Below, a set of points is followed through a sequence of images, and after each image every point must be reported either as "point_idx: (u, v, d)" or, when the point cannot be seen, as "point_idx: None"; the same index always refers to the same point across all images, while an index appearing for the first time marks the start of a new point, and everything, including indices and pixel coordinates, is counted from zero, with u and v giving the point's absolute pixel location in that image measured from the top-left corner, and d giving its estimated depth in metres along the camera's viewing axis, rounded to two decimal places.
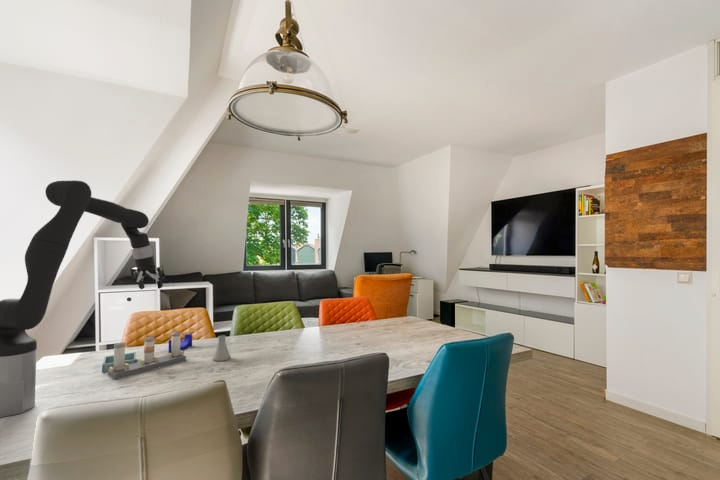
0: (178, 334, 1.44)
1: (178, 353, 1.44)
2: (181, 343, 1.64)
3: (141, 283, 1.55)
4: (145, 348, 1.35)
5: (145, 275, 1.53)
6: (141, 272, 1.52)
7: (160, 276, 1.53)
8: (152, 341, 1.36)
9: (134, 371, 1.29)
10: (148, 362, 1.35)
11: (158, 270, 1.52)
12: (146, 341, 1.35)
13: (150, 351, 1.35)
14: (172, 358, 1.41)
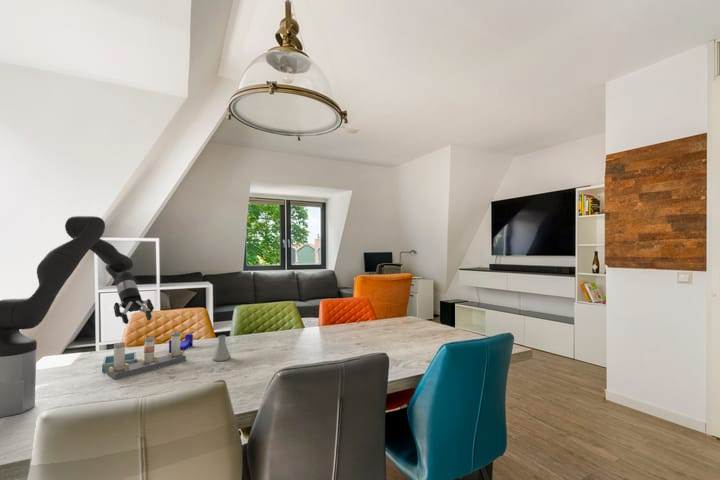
0: (178, 334, 1.45)
1: (178, 353, 1.44)
2: (182, 343, 1.64)
3: None
4: (145, 348, 1.35)
5: (133, 307, 1.46)
6: (130, 302, 1.46)
7: (151, 306, 1.51)
8: (152, 341, 1.36)
9: (134, 371, 1.29)
10: (148, 362, 1.35)
11: (149, 301, 1.52)
12: (146, 341, 1.35)
13: (150, 351, 1.35)
14: (172, 358, 1.41)
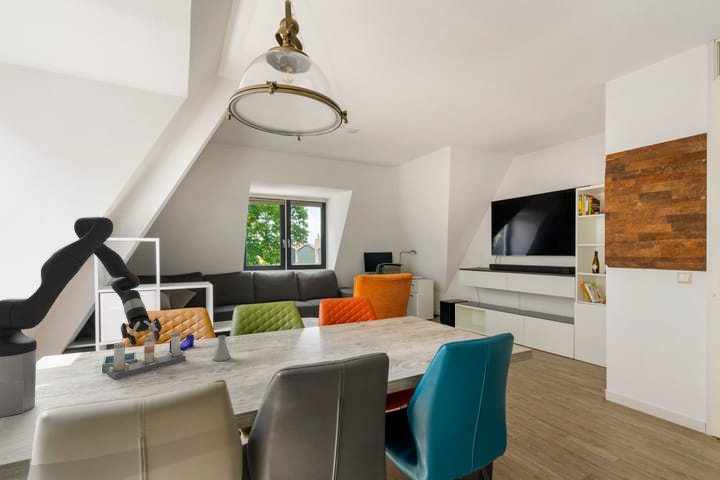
0: (178, 334, 1.45)
1: (178, 353, 1.44)
2: (183, 343, 1.64)
3: None
4: (145, 348, 1.35)
5: (141, 327, 1.40)
6: (138, 323, 1.40)
7: (159, 325, 1.46)
8: (152, 341, 1.36)
9: (134, 371, 1.29)
10: (148, 362, 1.35)
11: (157, 320, 1.47)
12: (146, 341, 1.35)
13: (150, 351, 1.35)
14: (172, 358, 1.41)
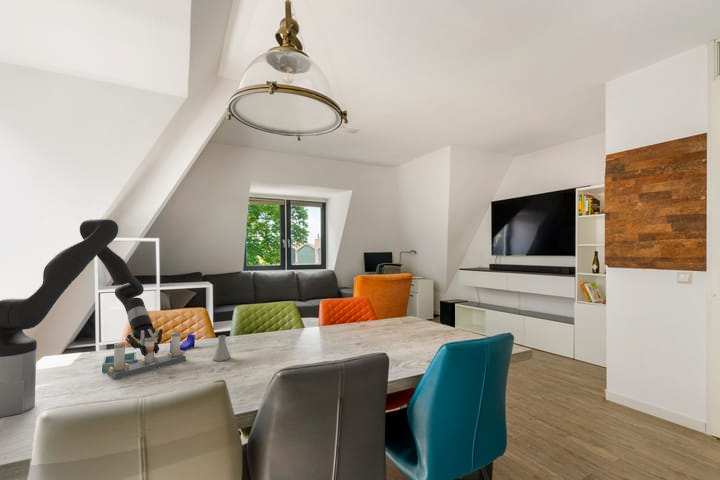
0: (178, 334, 1.44)
1: (178, 353, 1.44)
2: (183, 343, 1.63)
3: None
4: None
5: (147, 334, 1.39)
6: (142, 331, 1.38)
7: (160, 337, 1.41)
8: (152, 341, 1.36)
9: (134, 371, 1.29)
10: (148, 362, 1.35)
11: (160, 331, 1.43)
12: (146, 341, 1.35)
13: (150, 351, 1.35)
14: (172, 358, 1.41)
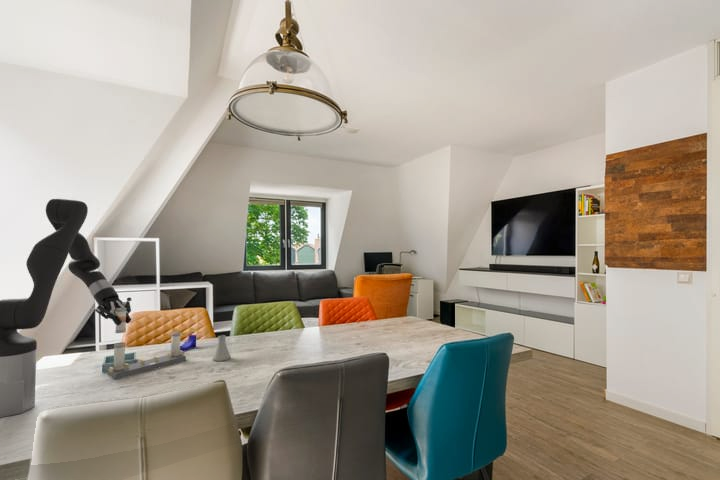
0: (178, 334, 1.44)
1: (178, 353, 1.44)
2: (185, 344, 1.63)
3: None
4: None
5: (116, 306, 1.41)
6: (112, 302, 1.39)
7: (129, 308, 1.44)
8: (125, 311, 1.39)
9: (134, 371, 1.29)
10: (121, 331, 1.38)
11: (128, 303, 1.46)
12: (118, 311, 1.38)
13: (123, 321, 1.39)
14: (172, 358, 1.41)
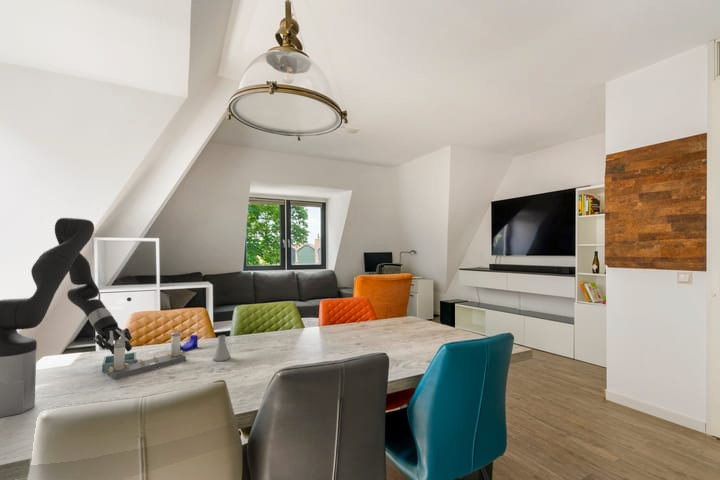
0: (178, 334, 1.45)
1: (178, 353, 1.44)
2: (186, 344, 1.63)
3: None
4: None
5: (115, 335, 1.40)
6: (111, 332, 1.39)
7: (129, 335, 1.45)
8: None
9: (134, 371, 1.29)
10: None
11: (127, 330, 1.46)
12: None
13: None
14: (172, 358, 1.41)
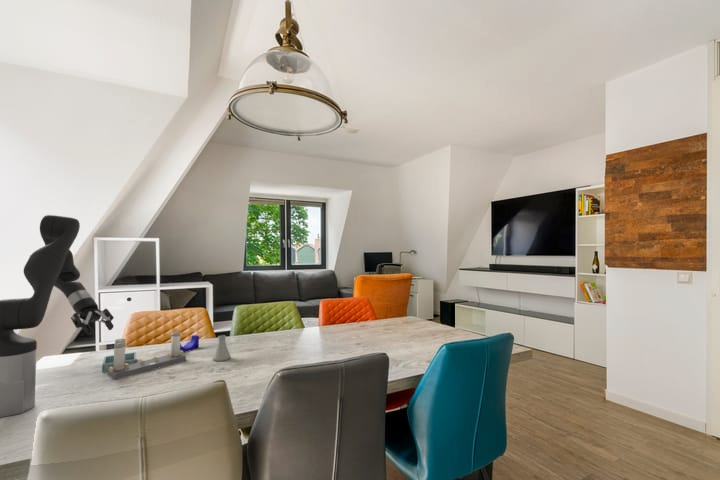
0: (178, 334, 1.44)
1: (178, 353, 1.44)
2: (187, 344, 1.62)
3: None
4: None
5: (93, 317, 1.42)
6: (90, 312, 1.41)
7: (110, 315, 1.48)
8: None
9: (134, 371, 1.29)
10: None
11: (106, 310, 1.49)
12: None
13: None
14: (172, 358, 1.41)
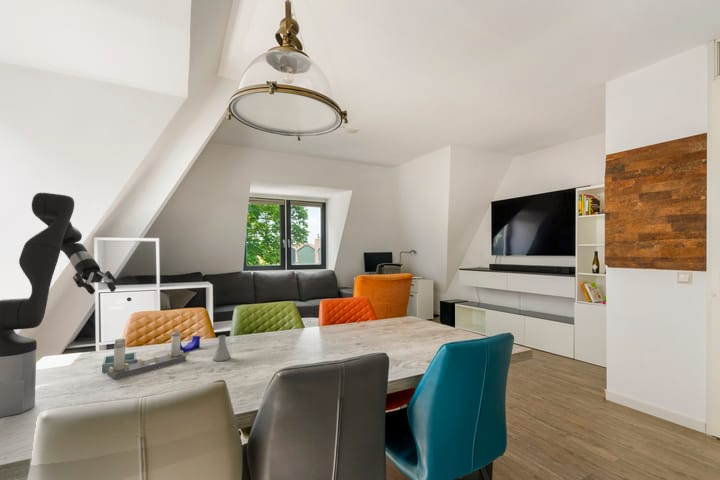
0: (178, 334, 1.45)
1: (178, 353, 1.44)
2: (188, 344, 1.62)
3: None
4: None
5: (95, 278, 1.40)
6: (92, 273, 1.40)
7: (113, 277, 1.47)
8: None
9: (134, 371, 1.29)
10: None
11: (109, 273, 1.47)
12: None
13: None
14: (172, 358, 1.41)
